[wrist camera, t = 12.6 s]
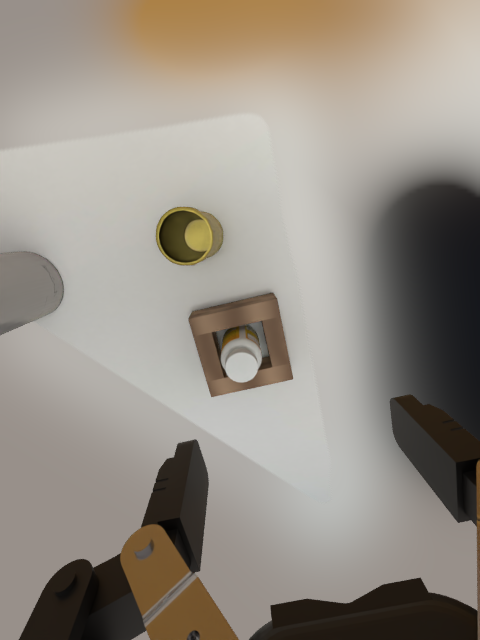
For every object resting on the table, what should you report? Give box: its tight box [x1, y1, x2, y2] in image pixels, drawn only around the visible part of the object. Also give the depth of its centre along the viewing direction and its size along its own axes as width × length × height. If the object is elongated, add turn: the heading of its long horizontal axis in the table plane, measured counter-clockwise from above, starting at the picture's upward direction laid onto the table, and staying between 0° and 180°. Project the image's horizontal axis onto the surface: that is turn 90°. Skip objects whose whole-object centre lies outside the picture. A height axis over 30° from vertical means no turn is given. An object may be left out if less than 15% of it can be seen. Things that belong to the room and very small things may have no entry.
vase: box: [156, 207, 223, 265], centre depth 34 cm, size 6×6×14 cm
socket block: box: [189, 293, 293, 397], centre depth 43 cm, size 12×12×4 cm
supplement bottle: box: [221, 325, 262, 383], centre depth 41 cm, size 5×5×10 cm
